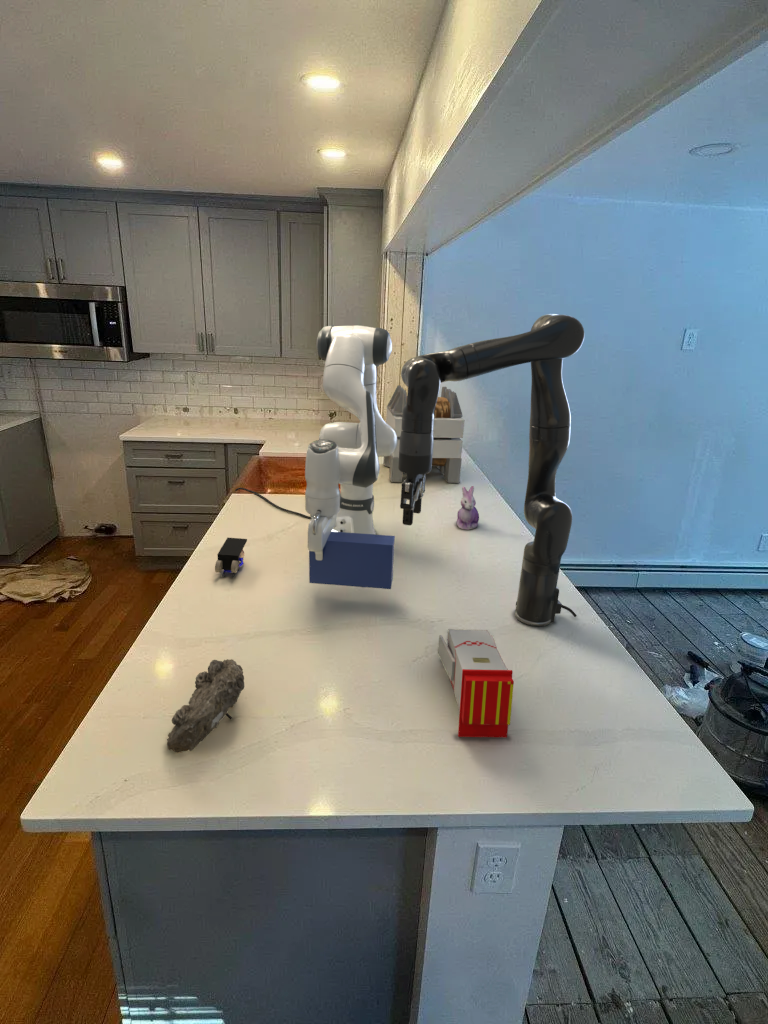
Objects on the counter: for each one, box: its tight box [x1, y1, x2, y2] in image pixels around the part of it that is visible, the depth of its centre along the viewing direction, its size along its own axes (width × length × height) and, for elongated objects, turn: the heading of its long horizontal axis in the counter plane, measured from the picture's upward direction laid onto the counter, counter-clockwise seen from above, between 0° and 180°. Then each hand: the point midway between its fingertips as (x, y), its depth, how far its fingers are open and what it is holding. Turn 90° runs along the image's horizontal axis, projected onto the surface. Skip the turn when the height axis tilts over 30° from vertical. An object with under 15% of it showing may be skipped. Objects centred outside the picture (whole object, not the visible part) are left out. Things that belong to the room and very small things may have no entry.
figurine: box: [456, 485, 480, 530], centre depth 208 cm, size 9×10×15 cm
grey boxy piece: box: [383, 384, 465, 484], centre depth 268 cm, size 34×33×41 cm
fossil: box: [166, 658, 245, 754], centre depth 106 cm, size 22×10×15 cm
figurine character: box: [214, 537, 248, 578], centre depth 166 cm, size 7×8×15 cm
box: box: [308, 531, 396, 590], centre depth 150 cm, size 22×6×13 cm, turn 85°
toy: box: [437, 628, 515, 738], centre depth 117 cm, size 12×13×30 cm
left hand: (322, 553), depth 150 cm, fingers closed on box, 6 cm apart
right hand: (411, 518), depth 132 cm, fingers open, 8 cm apart
